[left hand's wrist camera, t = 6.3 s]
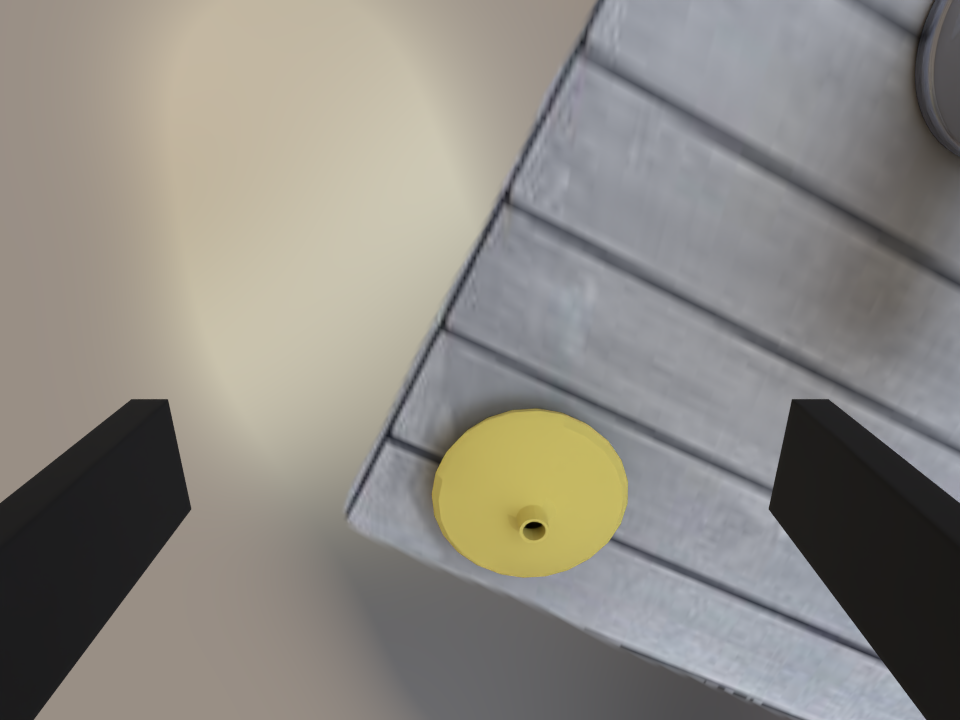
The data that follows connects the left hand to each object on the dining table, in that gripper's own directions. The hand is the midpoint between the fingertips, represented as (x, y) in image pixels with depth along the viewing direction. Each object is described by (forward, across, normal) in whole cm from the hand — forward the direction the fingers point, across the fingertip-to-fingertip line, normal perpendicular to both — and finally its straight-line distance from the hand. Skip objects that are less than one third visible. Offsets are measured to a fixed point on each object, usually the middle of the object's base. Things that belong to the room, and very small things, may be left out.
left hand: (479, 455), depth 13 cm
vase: (+32, +4, -21) cm, 39 cm away
